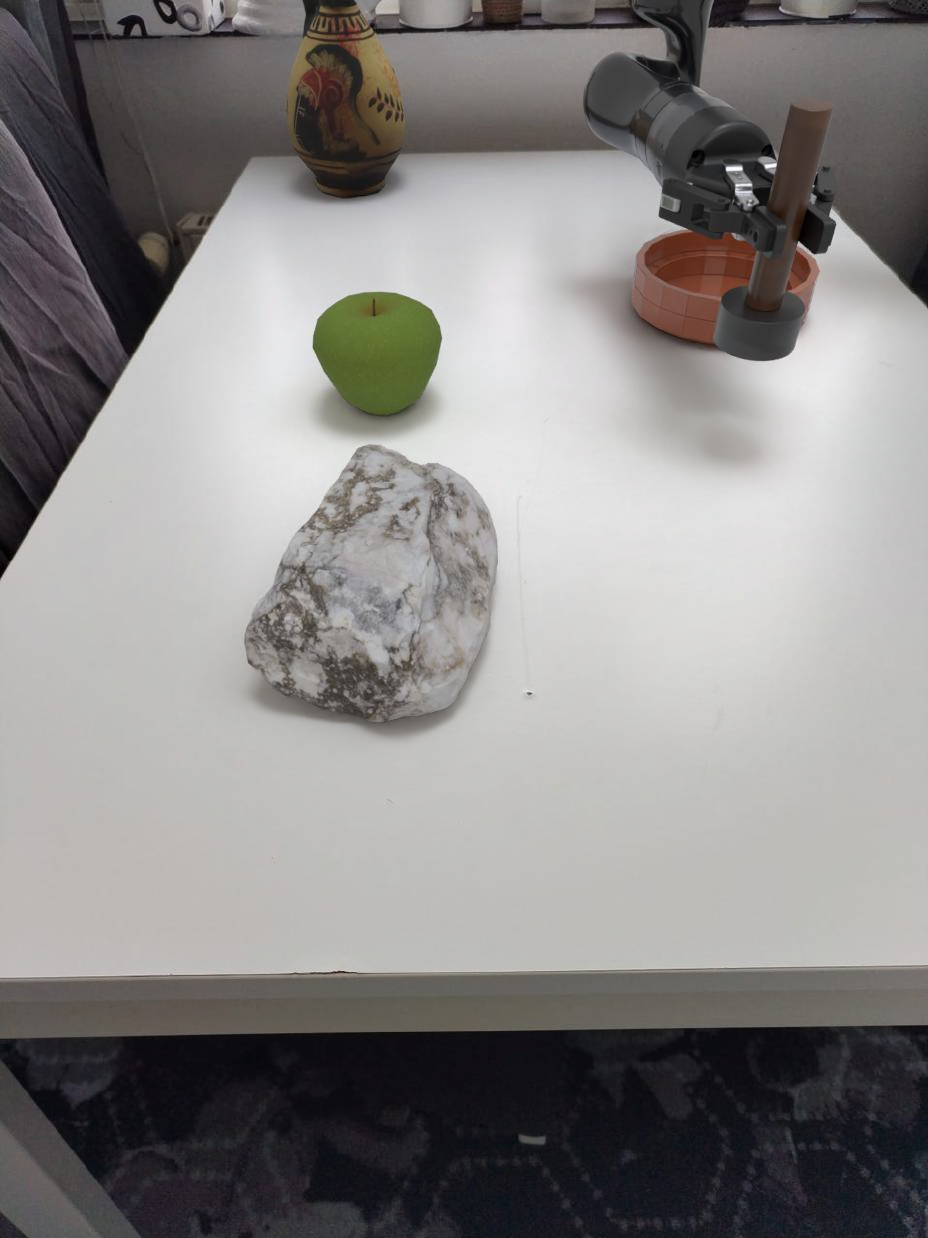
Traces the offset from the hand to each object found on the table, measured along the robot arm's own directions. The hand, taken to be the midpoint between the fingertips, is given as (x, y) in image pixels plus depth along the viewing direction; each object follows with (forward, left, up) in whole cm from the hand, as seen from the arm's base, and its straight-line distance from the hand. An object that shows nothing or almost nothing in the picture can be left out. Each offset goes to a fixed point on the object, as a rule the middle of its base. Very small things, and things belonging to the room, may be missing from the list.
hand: (802, 241), depth 57 cm
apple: (+28, -16, -18) cm, 36 cm away
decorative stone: (+30, +11, -18) cm, 36 cm away
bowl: (-8, -27, -18) cm, 33 cm away
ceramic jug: (+26, -74, -18) cm, 80 cm away
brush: (0, -3, -9) cm, 9 cm away
